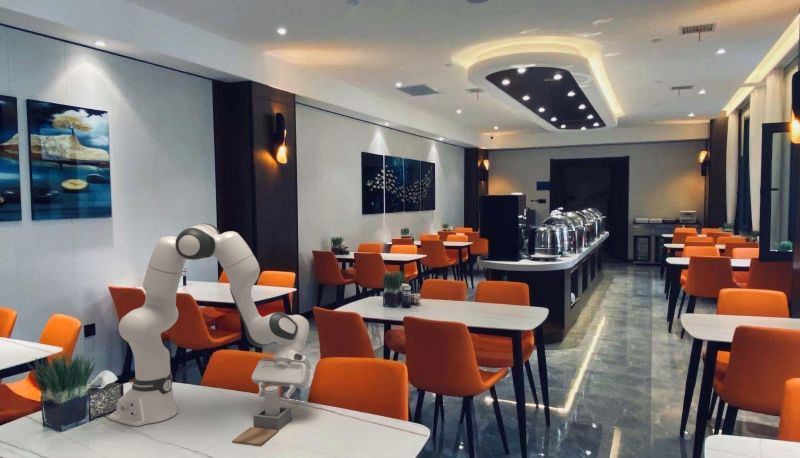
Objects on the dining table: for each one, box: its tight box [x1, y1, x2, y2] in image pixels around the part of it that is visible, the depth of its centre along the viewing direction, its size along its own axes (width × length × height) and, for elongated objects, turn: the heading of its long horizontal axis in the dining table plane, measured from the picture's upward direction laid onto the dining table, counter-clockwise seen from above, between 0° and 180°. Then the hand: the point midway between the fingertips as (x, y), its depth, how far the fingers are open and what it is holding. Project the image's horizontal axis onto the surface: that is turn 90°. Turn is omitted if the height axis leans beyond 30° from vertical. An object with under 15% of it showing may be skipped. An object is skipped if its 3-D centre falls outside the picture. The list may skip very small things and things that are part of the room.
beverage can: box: [263, 385, 281, 417], centre depth 176 cm, size 5×5×12 cm
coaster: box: [231, 426, 279, 447], centre depth 167 cm, size 10×10×1 cm
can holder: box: [252, 406, 293, 431], centre depth 176 cm, size 9×9×4 cm
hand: (273, 397), depth 177 cm, fingers open, 8 cm apart
